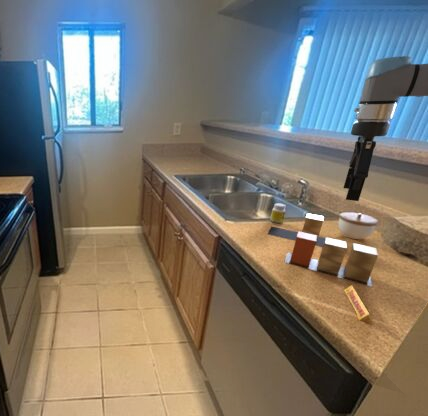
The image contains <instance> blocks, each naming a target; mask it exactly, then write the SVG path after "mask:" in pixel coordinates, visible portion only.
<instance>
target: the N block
mask: <svg viewBox="0 0 428 416" xmlns="http://www.w3.org/2000/svg"><path fill="white" fill-rule="evenodd" d="M378 257H379V254H378V250H377V248H376V247H374V246H373V247H372V246H367V245H364V244H358V243H355V242H354V243H352V245H351V248H350V251H349V254H348V257H347V259H346V262H345V265H344V267H345V268H344V275H345V277H348V278H352V279H355V280H359V281H363V282H366V283H367V282H368V280H369V277H370V276H371V274H372V272H373V270H374V267H375V265H376V261H377V259H378Z"/></svg>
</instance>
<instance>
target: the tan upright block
mask: <svg viewBox="0 0 428 416" xmlns="http://www.w3.org/2000/svg"><path fill="white" fill-rule="evenodd" d="M324 238H325V241H324V244H323V247H321V251H320V253H319V257H318V259H317V260H318V266H317V269H319V270H323V271H326V272H330V273H333V274H337V275H338V273H339V270H340V267H341V266H342V264H343V261H344V258H345V256H346V253H347V250H348V243H347V241H344V240H341V239H335V238H331V237H326V236H325V237H324Z"/></svg>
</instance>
